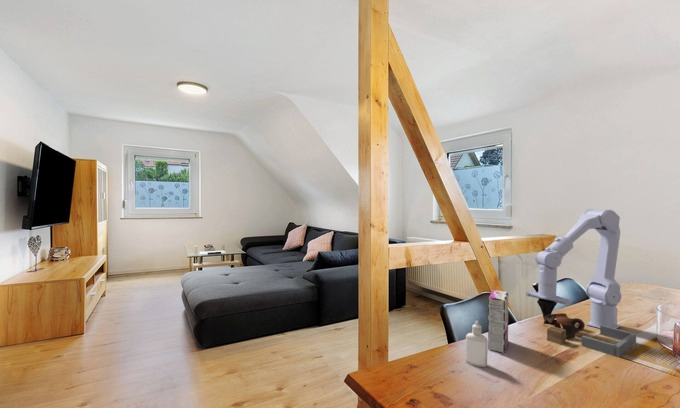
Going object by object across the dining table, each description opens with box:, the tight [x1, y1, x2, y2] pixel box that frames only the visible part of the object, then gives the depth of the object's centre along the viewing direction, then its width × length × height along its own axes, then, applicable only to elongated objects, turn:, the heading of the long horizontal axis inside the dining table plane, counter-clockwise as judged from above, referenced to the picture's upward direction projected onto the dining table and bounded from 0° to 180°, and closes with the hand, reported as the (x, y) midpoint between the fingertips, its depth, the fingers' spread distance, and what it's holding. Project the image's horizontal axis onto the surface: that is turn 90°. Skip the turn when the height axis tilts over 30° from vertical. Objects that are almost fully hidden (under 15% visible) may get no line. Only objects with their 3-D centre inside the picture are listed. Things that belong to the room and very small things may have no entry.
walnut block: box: [546, 325, 567, 345], centre depth 109 cm, size 4×4×4 cm
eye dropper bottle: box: [464, 320, 488, 368], centre depth 92 cm, size 4×6×12 cm
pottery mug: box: [543, 312, 586, 339], centre depth 115 cm, size 12×10×8 cm
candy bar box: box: [487, 289, 509, 354], centre depth 105 cm, size 11×5×16 cm, turn 148°
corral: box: [581, 325, 637, 358], centre depth 107 cm, size 18×9×3 cm, turn 125°
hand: (546, 319), depth 122 cm, fingers closed
